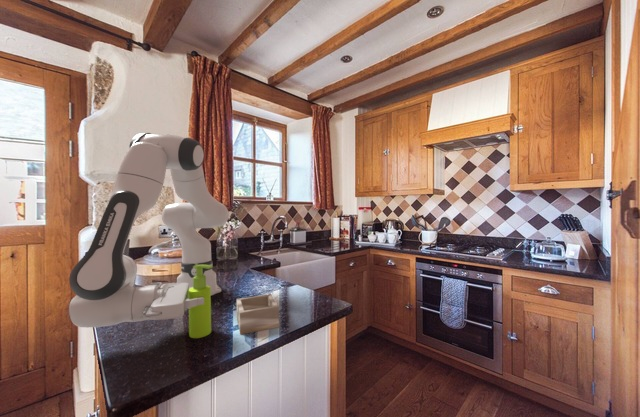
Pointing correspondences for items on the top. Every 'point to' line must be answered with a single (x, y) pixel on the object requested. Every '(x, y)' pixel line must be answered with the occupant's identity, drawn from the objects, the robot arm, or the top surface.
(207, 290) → the soap dispenser
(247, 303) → the box
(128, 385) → the top surface
